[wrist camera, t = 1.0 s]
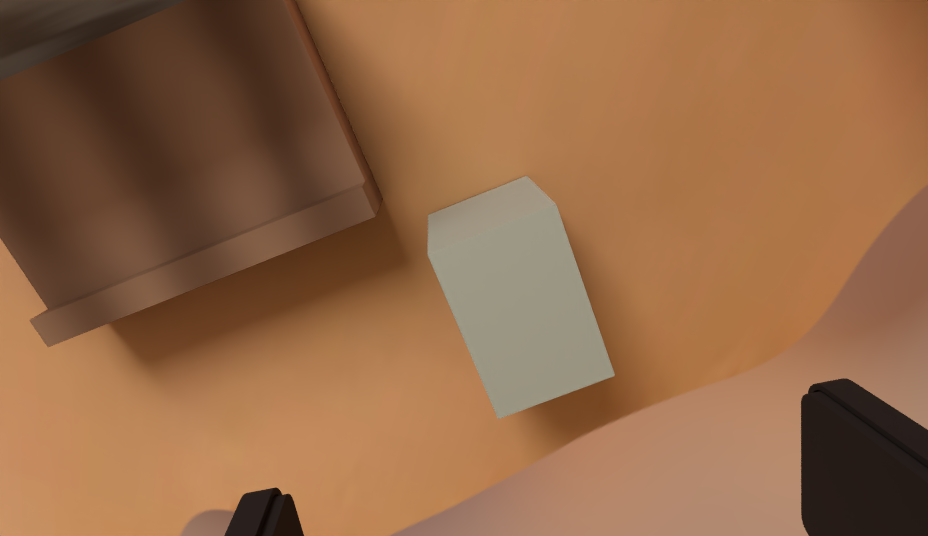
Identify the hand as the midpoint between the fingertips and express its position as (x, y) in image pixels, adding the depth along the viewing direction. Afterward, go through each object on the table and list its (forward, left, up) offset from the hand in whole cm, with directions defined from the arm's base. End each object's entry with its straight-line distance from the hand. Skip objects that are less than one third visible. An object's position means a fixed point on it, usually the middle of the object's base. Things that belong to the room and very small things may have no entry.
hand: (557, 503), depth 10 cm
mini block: (-1, +4, -24) cm, 24 cm away
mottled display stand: (+13, -9, -24) cm, 29 cm away
